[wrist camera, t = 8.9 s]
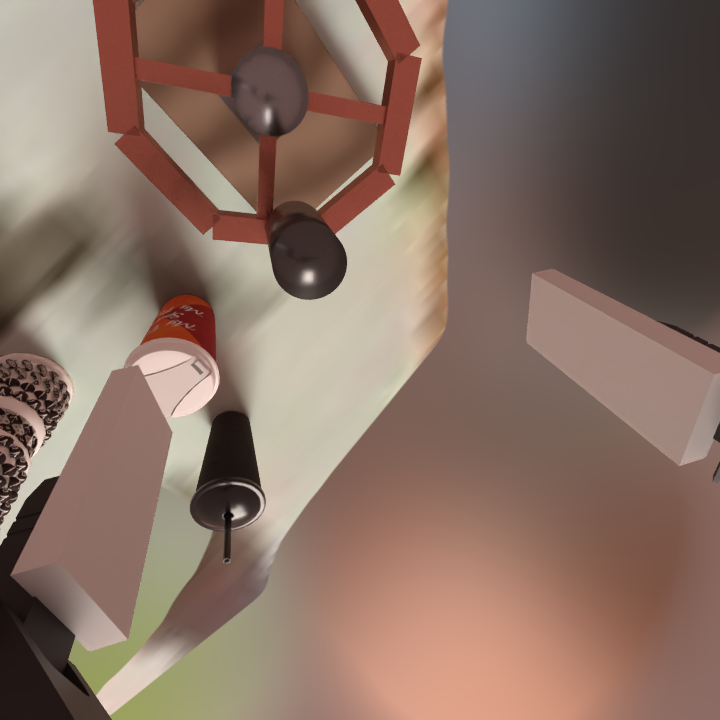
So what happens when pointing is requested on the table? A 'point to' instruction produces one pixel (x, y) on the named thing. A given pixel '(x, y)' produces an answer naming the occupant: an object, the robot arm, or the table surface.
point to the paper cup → (180, 356)
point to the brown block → (218, 113)
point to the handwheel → (266, 135)
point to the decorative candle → (27, 415)
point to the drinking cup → (228, 480)
